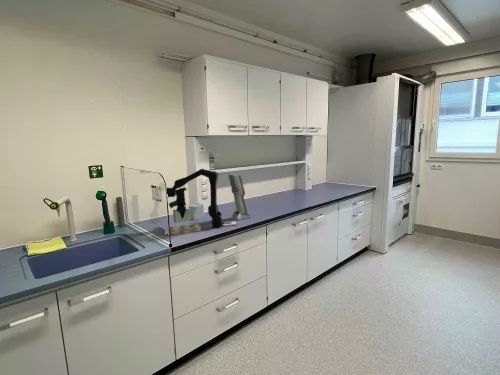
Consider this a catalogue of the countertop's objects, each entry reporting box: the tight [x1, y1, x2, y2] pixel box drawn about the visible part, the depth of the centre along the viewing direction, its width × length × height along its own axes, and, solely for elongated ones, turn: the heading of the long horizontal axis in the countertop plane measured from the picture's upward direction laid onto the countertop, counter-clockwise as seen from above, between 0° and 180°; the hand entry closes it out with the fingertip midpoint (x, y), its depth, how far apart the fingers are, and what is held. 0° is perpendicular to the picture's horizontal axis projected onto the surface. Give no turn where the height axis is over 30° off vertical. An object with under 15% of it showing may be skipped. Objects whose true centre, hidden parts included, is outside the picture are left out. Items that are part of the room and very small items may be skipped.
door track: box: [169, 222, 202, 235], centre depth 184 cm, size 24×9×4 cm, turn 104°
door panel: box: [172, 207, 192, 224], centre depth 193 cm, size 12×2×9 cm, turn 103°
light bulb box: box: [187, 203, 205, 220], centre depth 218 cm, size 11×7×11 cm, turn 141°
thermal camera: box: [228, 174, 251, 221], centre depth 210 cm, size 12×13×35 cm
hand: (182, 217), depth 193 cm, fingers closed on door panel, 2 cm apart
